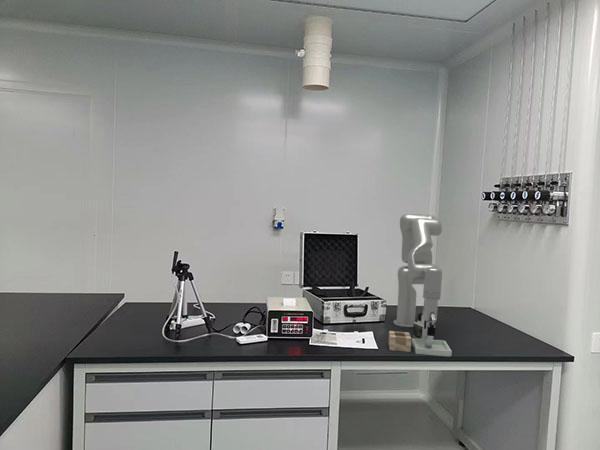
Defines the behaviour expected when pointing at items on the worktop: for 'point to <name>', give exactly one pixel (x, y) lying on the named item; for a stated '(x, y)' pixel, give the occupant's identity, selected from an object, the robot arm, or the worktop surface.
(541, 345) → the worktop surface
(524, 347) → the worktop surface
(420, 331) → the medicine bottle
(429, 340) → the cylinder
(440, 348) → the tray
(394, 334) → the beech block
